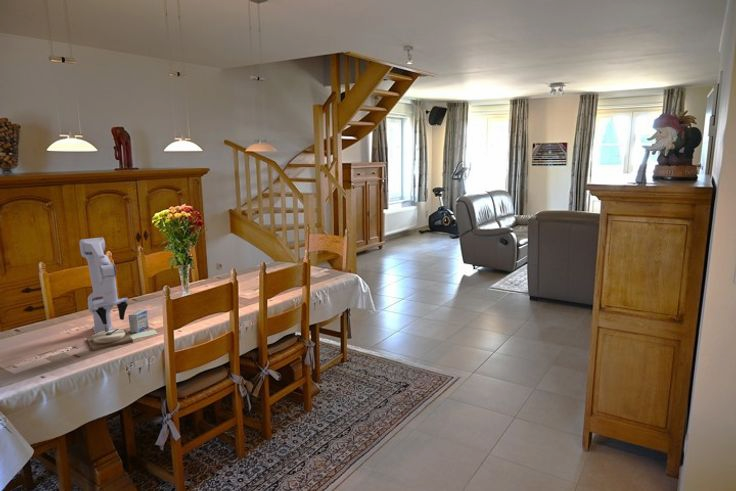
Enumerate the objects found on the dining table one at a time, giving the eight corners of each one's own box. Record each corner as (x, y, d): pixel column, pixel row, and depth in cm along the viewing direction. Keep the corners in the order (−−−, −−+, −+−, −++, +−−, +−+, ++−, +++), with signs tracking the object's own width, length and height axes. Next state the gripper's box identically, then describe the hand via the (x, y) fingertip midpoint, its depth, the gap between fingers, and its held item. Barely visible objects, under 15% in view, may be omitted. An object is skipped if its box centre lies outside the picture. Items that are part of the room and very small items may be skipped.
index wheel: (128, 338, 220) (127, 328, 219) (95, 345, 212) (94, 335, 211) (122, 330, 230) (121, 321, 229) (90, 336, 222) (89, 327, 221)
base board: (86, 339, 223) (86, 337, 222) (125, 331, 232) (124, 329, 232) (92, 350, 210) (92, 348, 210) (133, 341, 220) (132, 339, 219)
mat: (128, 335, 228) (128, 334, 228) (153, 329, 235) (153, 329, 235) (132, 339, 223) (132, 339, 223) (157, 333, 229) (157, 333, 229)
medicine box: (138, 333, 230) (136, 315, 229) (129, 332, 231) (128, 314, 230) (148, 327, 238) (147, 310, 236) (140, 326, 239) (138, 309, 237)
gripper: (97, 296, 207) (101, 327, 209) (130, 288, 219) (134, 318, 221) (89, 294, 211) (93, 325, 213) (122, 287, 223) (125, 316, 225)
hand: (113, 321), depth 217 cm, fingers open, 7 cm apart
